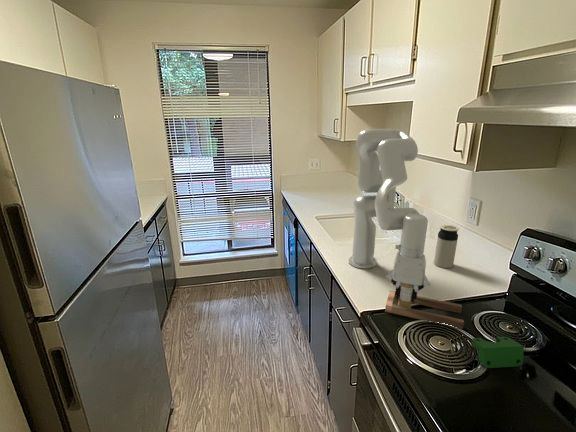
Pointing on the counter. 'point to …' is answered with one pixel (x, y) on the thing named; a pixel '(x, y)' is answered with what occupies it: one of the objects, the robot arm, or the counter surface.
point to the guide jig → (422, 314)
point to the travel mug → (446, 246)
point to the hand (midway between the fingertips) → (405, 297)
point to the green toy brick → (499, 352)
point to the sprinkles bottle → (405, 295)
